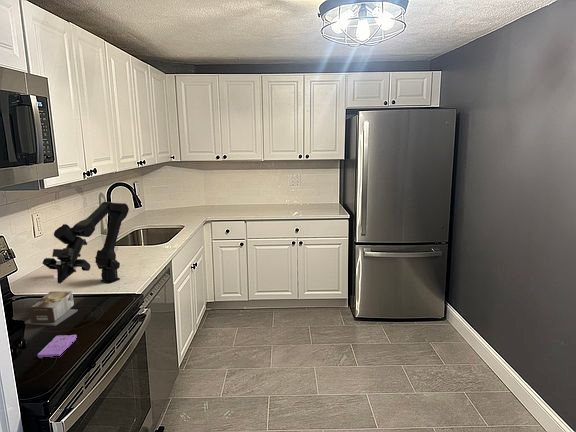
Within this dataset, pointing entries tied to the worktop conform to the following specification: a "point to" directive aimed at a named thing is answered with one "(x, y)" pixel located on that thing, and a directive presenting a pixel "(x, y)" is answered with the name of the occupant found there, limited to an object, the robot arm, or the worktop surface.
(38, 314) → the coffee box
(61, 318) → the tipping mat
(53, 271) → the beverage cup
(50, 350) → the sponges
